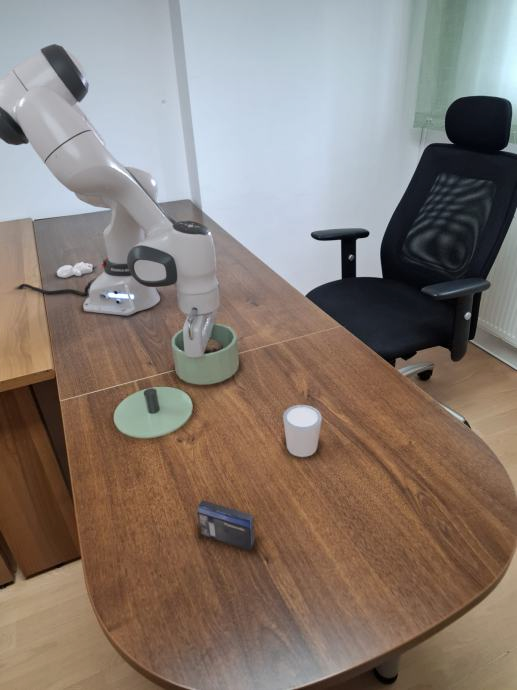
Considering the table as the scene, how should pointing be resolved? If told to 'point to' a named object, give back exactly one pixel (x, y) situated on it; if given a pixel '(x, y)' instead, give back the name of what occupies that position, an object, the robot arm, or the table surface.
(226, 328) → the pot
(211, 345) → the mushroom
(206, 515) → the mini dv tape
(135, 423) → the lid
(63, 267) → the astronaut figurine
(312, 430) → the white cup
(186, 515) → the table surface
